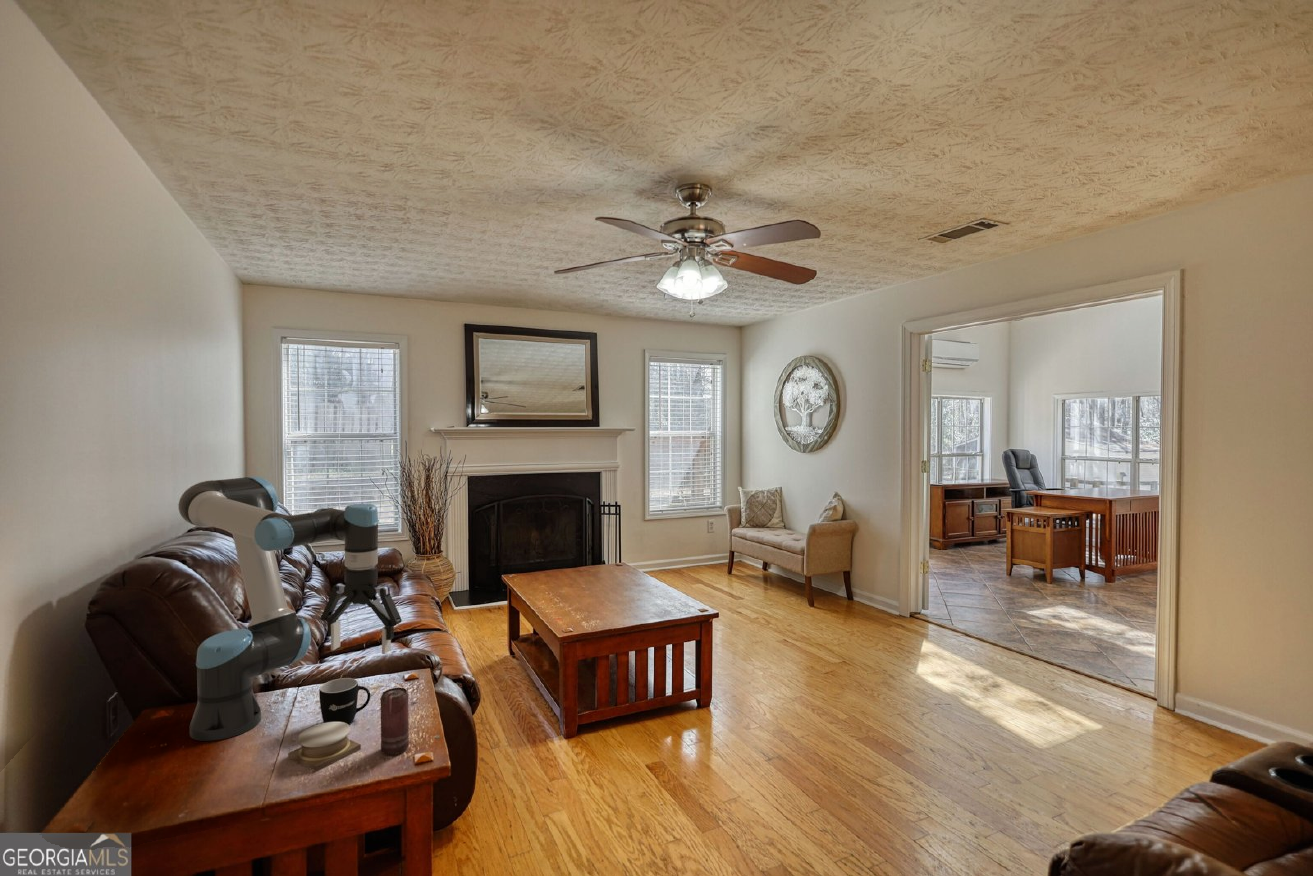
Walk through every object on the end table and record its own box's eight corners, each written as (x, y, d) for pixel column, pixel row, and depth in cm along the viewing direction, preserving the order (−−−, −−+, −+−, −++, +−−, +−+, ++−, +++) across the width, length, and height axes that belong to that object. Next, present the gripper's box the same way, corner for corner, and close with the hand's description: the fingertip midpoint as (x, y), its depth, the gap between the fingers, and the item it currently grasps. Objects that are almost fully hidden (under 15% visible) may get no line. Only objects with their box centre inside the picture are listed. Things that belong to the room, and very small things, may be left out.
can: (379, 758, 146) (378, 699, 145) (383, 744, 152) (382, 688, 151) (406, 755, 147) (406, 696, 147) (410, 741, 153) (409, 685, 153)
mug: (323, 735, 156) (322, 696, 156) (317, 721, 163) (316, 683, 163) (374, 722, 163) (374, 683, 163) (366, 709, 170) (366, 672, 170)
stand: (288, 758, 146) (287, 737, 146) (332, 737, 155) (332, 717, 155) (316, 771, 140) (315, 749, 140) (360, 749, 150) (360, 728, 150)
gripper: (304, 567, 154) (304, 652, 155) (400, 573, 151) (399, 659, 152) (324, 560, 161) (324, 641, 162) (416, 565, 158) (415, 648, 159)
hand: (360, 650), depth 157 cm, fingers open, 13 cm apart
